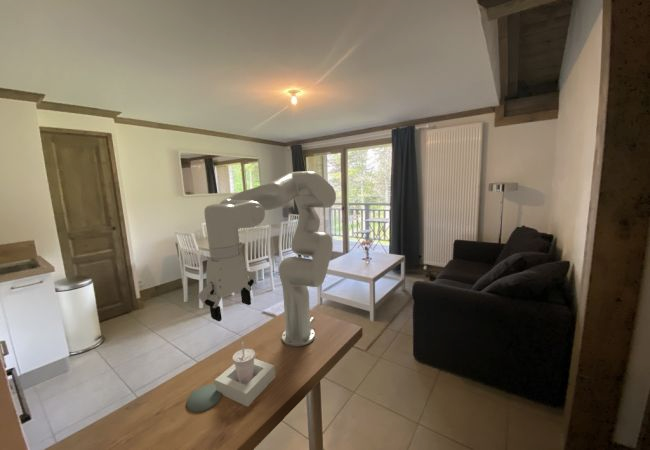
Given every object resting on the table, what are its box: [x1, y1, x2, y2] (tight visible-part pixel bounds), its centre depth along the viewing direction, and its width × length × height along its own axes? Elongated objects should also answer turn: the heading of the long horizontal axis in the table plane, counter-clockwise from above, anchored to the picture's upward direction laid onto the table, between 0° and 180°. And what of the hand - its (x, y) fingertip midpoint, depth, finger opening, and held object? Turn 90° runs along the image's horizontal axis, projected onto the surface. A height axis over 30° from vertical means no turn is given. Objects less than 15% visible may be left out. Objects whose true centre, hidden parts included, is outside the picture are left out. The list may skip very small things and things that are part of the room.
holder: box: [214, 358, 276, 408], centre depth 79 cm, size 12×12×4 cm
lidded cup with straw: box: [232, 341, 256, 385], centre depth 78 cm, size 6×6×14 cm
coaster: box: [186, 383, 223, 413], centre depth 75 cm, size 9×9×1 cm
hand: (232, 311), depth 73 cm, fingers open, 9 cm apart
